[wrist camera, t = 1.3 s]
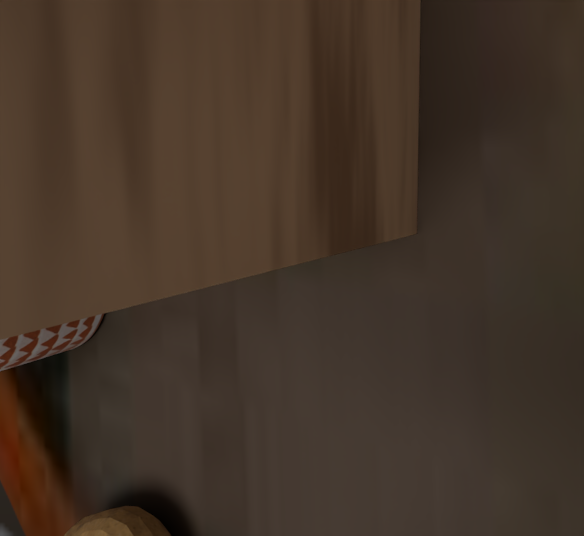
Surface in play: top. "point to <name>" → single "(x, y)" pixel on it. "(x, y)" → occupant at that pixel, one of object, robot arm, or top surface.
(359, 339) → the top surface
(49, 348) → the planter
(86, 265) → the stand
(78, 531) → the potato
